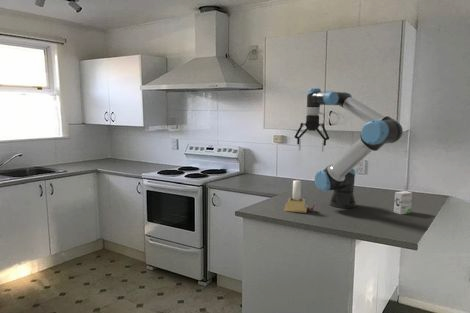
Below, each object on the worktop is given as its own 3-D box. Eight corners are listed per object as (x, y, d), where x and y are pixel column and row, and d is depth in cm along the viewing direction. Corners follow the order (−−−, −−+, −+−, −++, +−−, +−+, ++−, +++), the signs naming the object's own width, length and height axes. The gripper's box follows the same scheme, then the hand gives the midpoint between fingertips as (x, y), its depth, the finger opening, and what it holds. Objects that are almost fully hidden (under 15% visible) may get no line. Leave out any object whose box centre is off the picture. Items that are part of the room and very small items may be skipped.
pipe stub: (300, 205, 210) (301, 180, 208) (299, 207, 206) (300, 182, 204) (292, 204, 211) (293, 180, 209) (291, 206, 207) (292, 181, 205)
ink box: (403, 210, 213) (405, 190, 211) (411, 213, 209) (413, 192, 207) (393, 212, 209) (394, 191, 208) (400, 214, 205) (402, 193, 203)
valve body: (313, 209, 211) (314, 199, 210) (313, 213, 202) (313, 203, 201) (286, 207, 214) (286, 197, 214) (284, 211, 206) (284, 200, 205)
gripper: (334, 115, 220) (332, 150, 223) (292, 114, 226) (290, 148, 229) (334, 115, 213) (332, 152, 216) (291, 114, 219) (289, 150, 222)
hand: (311, 150), depth 222 cm, fingers open, 13 cm apart
